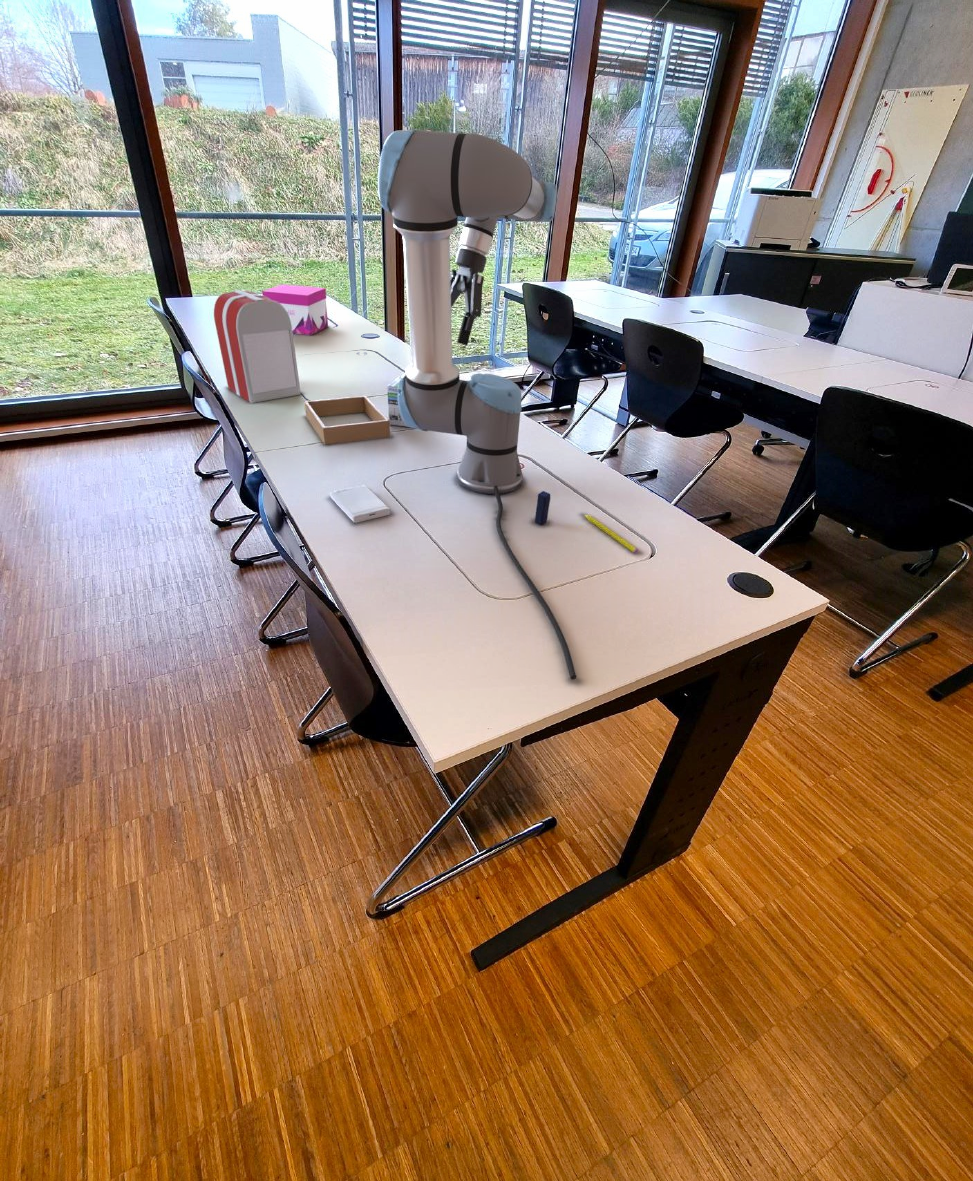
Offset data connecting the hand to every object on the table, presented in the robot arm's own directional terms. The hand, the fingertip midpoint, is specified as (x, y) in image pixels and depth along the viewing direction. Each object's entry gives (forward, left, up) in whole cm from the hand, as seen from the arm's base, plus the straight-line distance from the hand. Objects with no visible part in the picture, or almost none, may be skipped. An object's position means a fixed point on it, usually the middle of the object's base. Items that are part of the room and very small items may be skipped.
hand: (450, 339), depth 155 cm
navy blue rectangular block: (-61, +5, -23) cm, 65 cm away
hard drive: (-41, +38, -23) cm, 60 cm away
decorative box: (+123, +16, -23) cm, 126 cm away
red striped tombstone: (+43, +44, -23) cm, 65 cm away
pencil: (-70, -6, -23) cm, 74 cm away
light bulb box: (+5, +11, -23) cm, 26 cm away
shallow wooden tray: (+5, +28, -22) cm, 36 cm away
